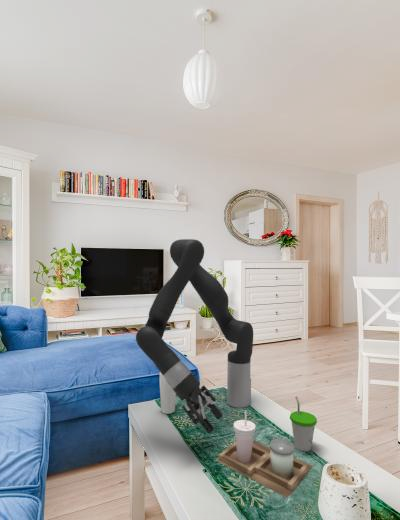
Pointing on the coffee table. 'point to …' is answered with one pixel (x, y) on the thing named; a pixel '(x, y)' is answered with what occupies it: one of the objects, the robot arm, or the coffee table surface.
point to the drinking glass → (166, 396)
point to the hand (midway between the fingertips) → (216, 424)
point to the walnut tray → (264, 468)
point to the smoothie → (244, 438)
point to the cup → (303, 429)
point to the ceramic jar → (281, 458)
